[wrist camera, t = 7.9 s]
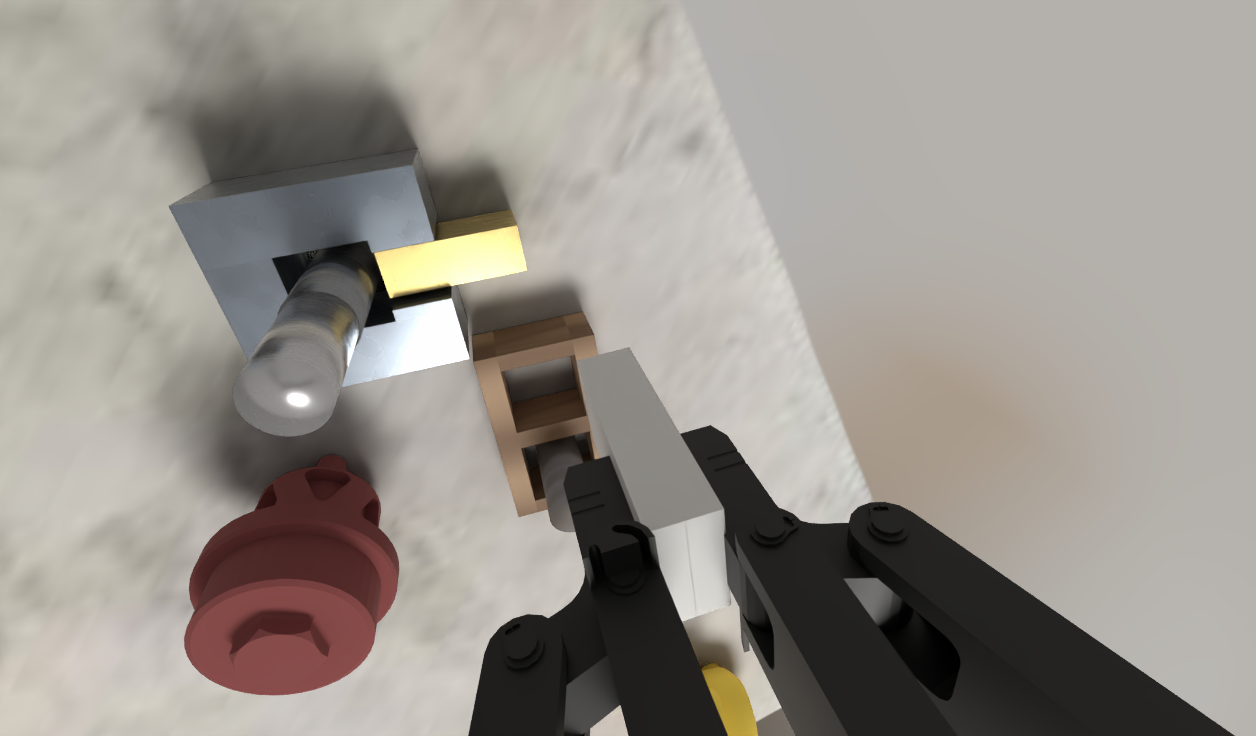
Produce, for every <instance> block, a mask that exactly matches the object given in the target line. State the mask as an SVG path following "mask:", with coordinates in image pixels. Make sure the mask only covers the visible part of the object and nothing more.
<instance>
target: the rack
mask: <svg viewBox="0 0 1256 736" xmlns="http://www.w3.org/2000/svg"><path fill="white" fill-rule="evenodd" d="M472 347H473V362H474V366H475V369H476V373H477V376H478V380H479V383H480V386H481V390H482V393H483V397H484V400H485V403H486V407H487V410H488V414H489V417H490V421H491V424H492V427H493V431H494V434H495V438H496V441H497V444H498V448H499V451H500V455H501V458H502V462H503V465H504V468H505V472H506V475H507V479H508V482H509V485H510V489H511V492H512V496H513V499H514V503H515V506H516V509H517V513H518V516H519V517H521V516H525V515H529V514H532V513H536V512H540V511H543V510H547V509H548V512H549V517H550V521H551V523H552V525H553V526H554V527H555V528H556V529H558V530H560V531H564V532H575V528H574V524H573V520H572V516H571V512H570V509H569V505H568V501H567V497H566V493H565V489H564V485H563V483H564V480H565V476H566V473H567V470H568V467H571V466H574V465H578V464H581V463H585V462H588V461H592V460H595V459H599V458H600V457H599V454H598V451H597V448H596V446H595V443H594V440H593V436H592V431H591V426H590V422H589V417H588V413H587V408H586V403H585V399H584V394H583V389H582V385H581V380H580V375H579V371H578V366H577V362H576V361H578V360H582V359H586V358H590V357H593V356H597V349H596V343H595V337H594V333H593V331H592V329H591V327H590V325H589V323H588V321H587V319H586V317H585V315H584V313H583V312H579V313H575V314H570V315H565V316H561V317H556V318H552V319H547V320H542V321H538V322H533V323H529V324H524V325H519V326H515V327H510V328H506V329H501V330H497V331H492V332H487V333H483V334H478V335H474V336H472ZM567 356H571V361H572V366H573V371H574V376H575V381H576V387H577V388H575V389H571V390H567V391H562V392H558V393H554V394H550V395H546V396H542V397H537V398H533V399H529V400H525V401H521V402H516V403H512V401H511V397H510V394H509V390H508V386H507V382H506V379H505V375H504V371H506V370H511V369H515V368H519V367H524V366H528V365H532V364H537V363H541V362H545V361H550V360H554V359H559V358H563V357H567ZM584 432H585V433H586V438H587V443H588V448H589V453H587V454H583V455H581V454H580V450H579V447H578V444H577V441H576V437H575V435H577V434H580V433H584ZM533 445H535V447H536V452H537V457H538V462H539V466H537V467H533V468H529V465H528V462H527V458H526V454H525V450H524V448H525V447H529V446H533Z"/></svg>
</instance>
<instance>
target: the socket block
mask: <svg viewBox="0 0 1256 736" xmlns="http://www.w3.org/2000/svg"><path fill="white" fill-rule="evenodd" d="M169 208H170V210H171V212H172V214H173V216H174V218H175V220H176V222H177V223H178V225H179V227H180V229H181V231H182V233H183V235H184V237H185V239H186V241H187V243H188V245H189V247H190V249H191V251H192V252H193V254H194V256H195V258H196V260H197V262H198V264H199V266H200V268H201V270H202V272H203V274H204V276H205V278H206V280H207V281H208V283H209V285H210V287H211V289H212V291H213V293H214V295H215V297H216V299H217V301H218V303H219V305H220V307H221V309H222V310H223V312H224V314H225V316H226V318H227V320H228V322H229V324H230V326H231V328H232V330H233V332H234V334H235V336H236V338H237V339H238V341H239V343H240V345H241V347H242V349H243V351H244V353H245V355H246V357H247V359H248V360H249V359H250V357H251V356H252V354H253V353H254V351H255V350H256V348H257V347H258V345H259V344H260V342H261V341H262V339H263V337H264V336H265V334H266V333H267V331H268V330H269V328H270V327H271V325H272V324H273V322H274V321H275V319H276V318H277V315H278V311H279V309H280V307H281V305H282V304H283V302H284V301H285V299H286V298H287V296H288V295H289V293H290V292H291V290H292V289H293V287H294V286H295V284H296V283H297V281H298V280H299V278H300V277H301V275H302V274H303V272H304V271H305V269H306V268H307V266H308V265H309V263H310V260H309V257H308V255H307V253H306V252H307V251H313V250H318V249H323V248H329V247H334V246H339V245H345V244H350V243H355V242H361V241H366V240H367V241H368V244H369V246H370V249H371V252H372V253H373V252H378V251H383V250H388V249H394V248H399V247H404V246H409V245H415V244H420V243H425V242H430V241H435V231H436V222H437V213H436V209H435V206H434V202H433V199H432V195H431V192H430V188H429V185H428V181H427V178H426V174H425V171H424V167H423V164H422V160H421V157H420V153H419V150H418V149H412V150H406V151H400V152H393V153H387V154H381V155H375V156H369V157H363V158H357V159H351V160H345V161H339V162H333V163H327V164H321V165H314V166H308V167H302V168H296V169H290V170H284V171H278V172H272V173H266V174H260V175H254V176H248V177H242V178H236V179H229V180H223V181H217V182H211V183H209V184H207V185H205V186H204V187H202V188H200V189H198V190H197V191H195V192H193V193H191V194H189V195H188V196H186V197H184V198H182V199H180V200H179V201H177V202H175V203H173V204H171V205H170V206H169ZM466 359H469V340H468V321H467V317H466V314H465V310H464V307H463V303H462V300H461V296H460V293H459V289H458V286H457V285H452V286H448V287H443V288H438V289H433V290H428V291H423V292H418V293H413V294H408V295H403V296H398V297H393V298H390V297H389V294H388V291H387V290H385V291H380V292H375V295H374V298H373V301H372V304H371V307H370V310H369V313H368V316H367V320H366V323H365V326H364V329H363V332H362V335H361V338H360V340H359V342H358V344H357V345H356V347H355V348H354V351H353V354H352V357H351V360H350V363H349V366H348V369H347V372H346V375H345V378H344V381H343V384H342V387H345V386H350V385H354V384H358V383H363V382H367V381H372V380H376V379H381V378H385V377H390V376H394V375H399V374H403V373H408V372H412V371H417V370H421V369H425V368H430V367H434V366H439V365H443V364H448V363H452V362H457V361H461V360H466Z"/></svg>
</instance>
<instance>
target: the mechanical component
mask: <svg viewBox="0 0 1256 736" xmlns="http://www.w3.org/2000/svg"><path fill="white" fill-rule="evenodd" d="M380 513H381V506H380V501H379V498H378V496H377V494H376V492H375V491H374V489H373V488H372V487H371V486H370V485H369V484H368V483H367V482H366V481H364V480H363V479H362V478H360V477H358V476H356V475H354V474H352V473H350V472H347V471H346V462H345V460H344V459H343V458H341V457H339V456H336V455H327V456H324V457H322V458H321V459H320V460H319V462H318V464H317V466H316V467H307V468H302V469H297V470H294V471H291V472H288V473H286V474H284V475H282V476H280V477H278V478H277V479H276V480H274V481H273V482H272V483H270V485H269V486H268V487H267V488H266V489H265V490H264V492H263V494H262V495H261V497H260V499H259V502H258V504H257V506H256V509H255V511H253V512H250V513H248V514H245V515H243V516H241V517H239V518H237V519H235V520H233V521H231V522H230V523H228V524H227V525H226V526H224V527H223V528H221V529H220V530H219V531H218V532H217V533H216V534H215V535H214V536H213V537H212V538H211V539H210V540H209V542H208V543H207V544H206V546H205V547H204V549H203V551H202V553H201V555H200V557H199V559H198V561H197V563H196V565H195V567H194V569H193V572H192V575H191V578H190V584H189V593H190V600H191V602H192V605H193V608H194V610H195V611H194V613H193V615H192V617H191V620H190V622H189V624H188V626H187V629H186V633H185V637H184V644H185V650H186V653H187V656H188V658H189V660H190V661H191V663H192V665H193V666H194V667H195V668H196V669H197V670H198V671H199V672H200V673H201V674H202V675H204V676H205V677H206V678H208V679H209V680H211V681H213V682H215V683H217V684H219V685H221V686H224V687H226V688H229V689H232V690H236V691H240V692H244V693H250V694H257V695H288V694H296V693H302V692H306V691H311V690H315V689H318V688H321V687H324V686H327V685H329V684H331V683H333V682H336V681H338V680H340V679H341V678H343V677H345V676H346V675H348V674H350V673H351V672H352V671H353V670H355V669H356V668H357V667H358V666H359V665H360V664H361V663H362V662H363V661H364V660H365V659H366V657H367V656H368V654H369V653H370V651H371V648H372V646H373V644H374V639H375V632H376V625H377V623H378V622H379V621H380V620H381V619H382V618H383V617H384V616H385V615H386V613H387V612H388V610H389V609H390V607H391V605H392V603H393V601H394V599H395V596H396V592H397V585H398V576H399V561H398V556H397V553H396V550H395V548H394V546H393V544H392V543H391V541H390V540H389V538H388V537H387V536H386V535H385V534H384V533H383V532H382V531H381V530H380V529H379V528H378V527H379V520H380Z"/></svg>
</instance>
